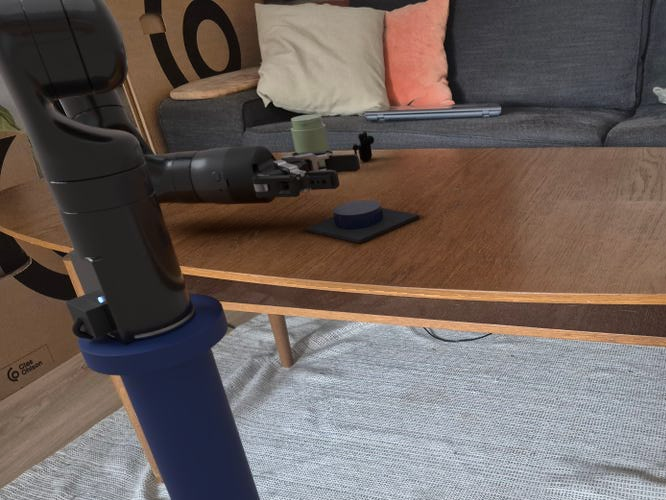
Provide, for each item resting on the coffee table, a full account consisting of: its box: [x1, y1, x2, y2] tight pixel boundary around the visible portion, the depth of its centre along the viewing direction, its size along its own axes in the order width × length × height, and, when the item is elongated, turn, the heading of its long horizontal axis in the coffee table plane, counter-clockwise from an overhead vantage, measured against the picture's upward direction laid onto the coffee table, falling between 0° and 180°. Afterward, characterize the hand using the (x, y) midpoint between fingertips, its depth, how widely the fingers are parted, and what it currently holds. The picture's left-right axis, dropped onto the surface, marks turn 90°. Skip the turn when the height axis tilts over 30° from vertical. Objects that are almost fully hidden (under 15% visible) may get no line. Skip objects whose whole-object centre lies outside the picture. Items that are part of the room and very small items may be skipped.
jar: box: [290, 113, 331, 165], centre depth 118 cm, size 6×6×10 cm
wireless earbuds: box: [352, 131, 375, 163], centre depth 124 cm, size 7×2×5 cm, turn 159°
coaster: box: [305, 207, 420, 244], centre depth 92 cm, size 11×11×1 cm
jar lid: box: [332, 199, 383, 229], centre depth 91 cm, size 7×7×2 cm
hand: (348, 170), depth 88 cm, fingers open, 8 cm apart
